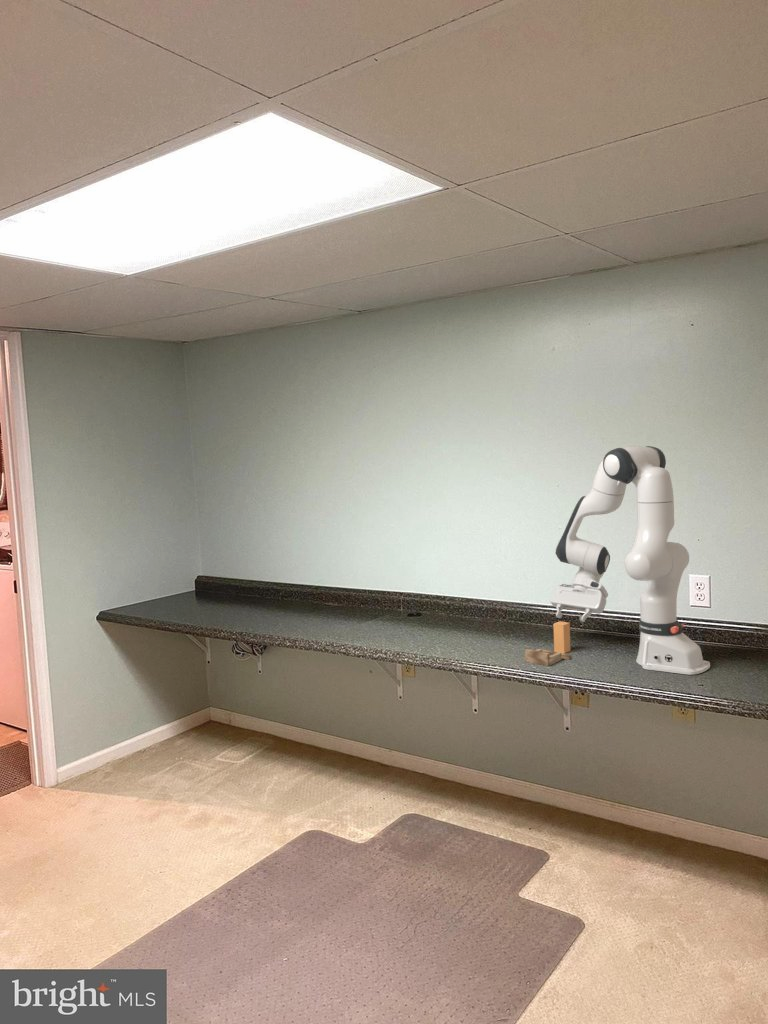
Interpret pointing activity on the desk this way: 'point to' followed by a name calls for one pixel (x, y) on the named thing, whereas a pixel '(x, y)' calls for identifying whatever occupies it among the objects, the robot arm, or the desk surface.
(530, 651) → the index bracket
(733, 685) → the desk surface
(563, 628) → the block
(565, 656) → the door edge strip
